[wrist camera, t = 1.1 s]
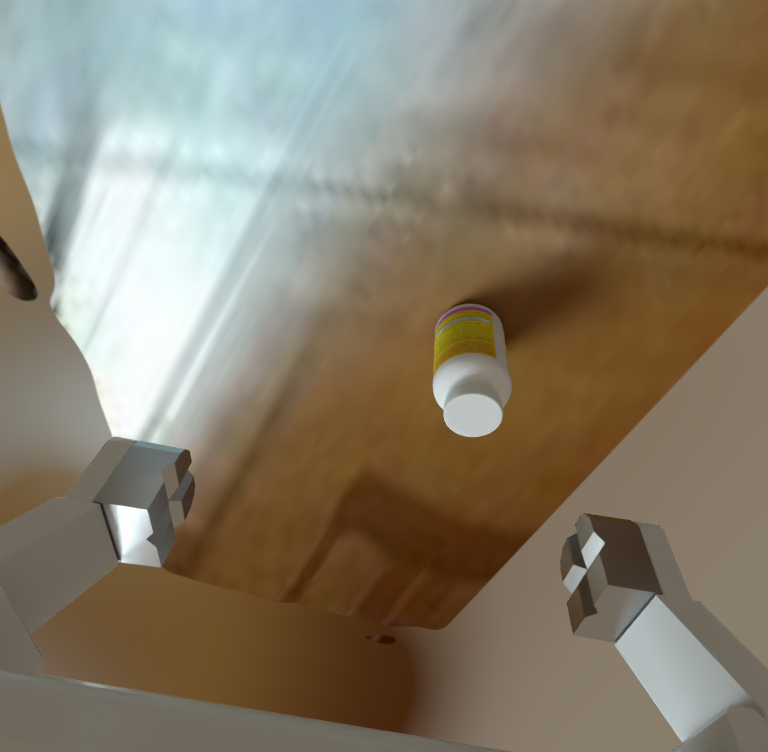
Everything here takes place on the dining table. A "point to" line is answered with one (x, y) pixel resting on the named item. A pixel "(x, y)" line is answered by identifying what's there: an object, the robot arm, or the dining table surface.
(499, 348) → the supplement bottle
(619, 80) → the dining table surface
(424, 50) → the dining table surface
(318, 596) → the dining table surface
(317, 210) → the dining table surface
